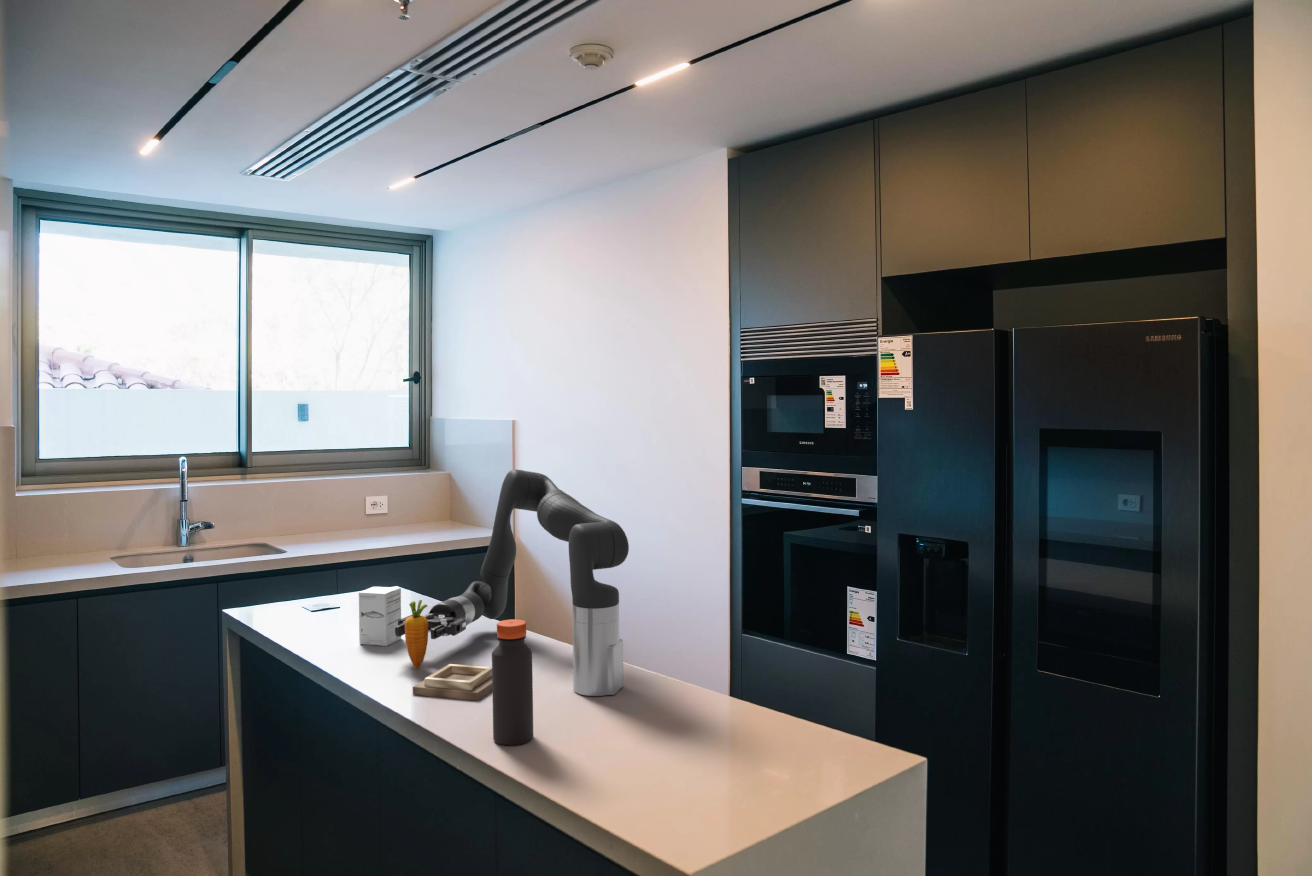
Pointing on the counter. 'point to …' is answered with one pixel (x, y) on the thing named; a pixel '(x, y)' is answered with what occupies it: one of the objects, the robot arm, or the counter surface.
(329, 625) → the counter surface
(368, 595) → the supplement box
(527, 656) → the bottle
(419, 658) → the carrot
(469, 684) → the beige wooden tray
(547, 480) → the robot arm
